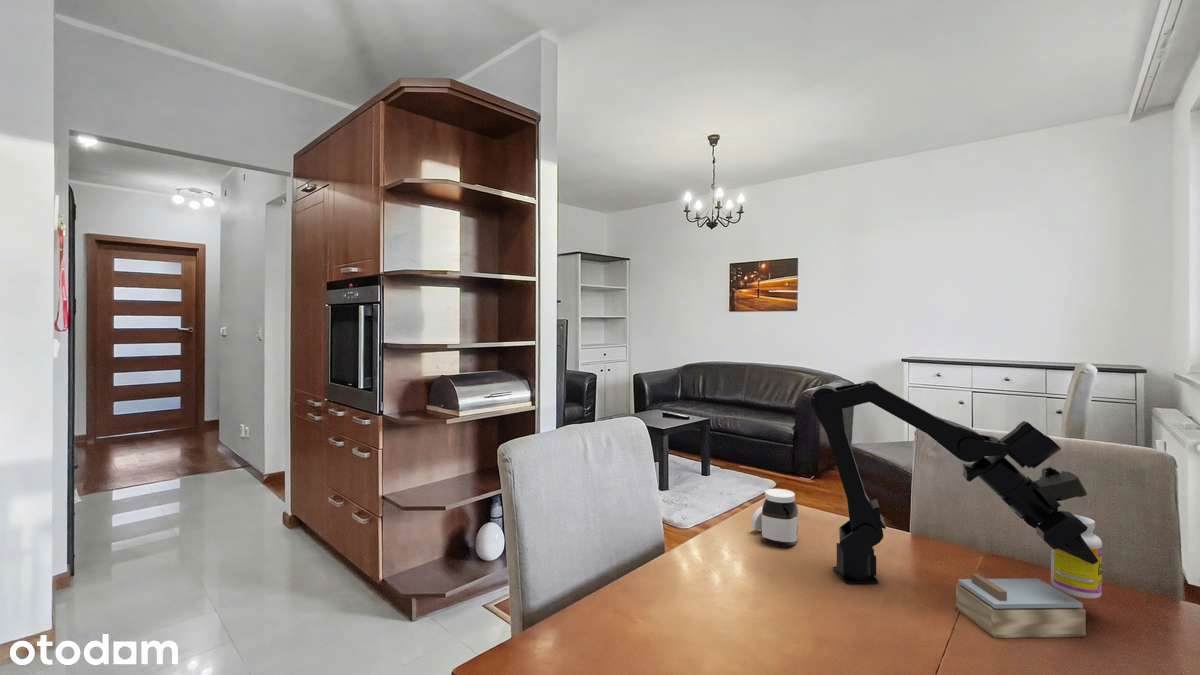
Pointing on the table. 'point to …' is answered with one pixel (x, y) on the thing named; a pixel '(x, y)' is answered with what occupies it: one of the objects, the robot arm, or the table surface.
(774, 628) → the table surface
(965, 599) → the wooden box
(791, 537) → the spread jar
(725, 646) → the table surface
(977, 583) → the lid
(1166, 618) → the table surface
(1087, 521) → the supplement bottle
